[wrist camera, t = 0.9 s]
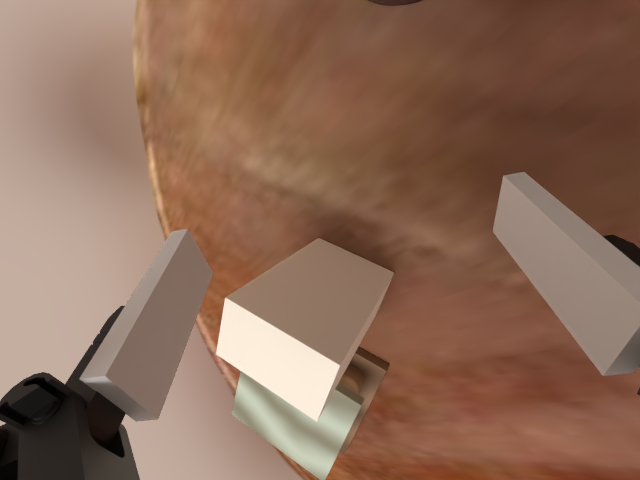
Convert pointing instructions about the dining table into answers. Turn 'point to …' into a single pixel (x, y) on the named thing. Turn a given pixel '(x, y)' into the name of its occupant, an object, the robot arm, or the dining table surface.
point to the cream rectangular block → (303, 322)
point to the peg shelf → (302, 431)
